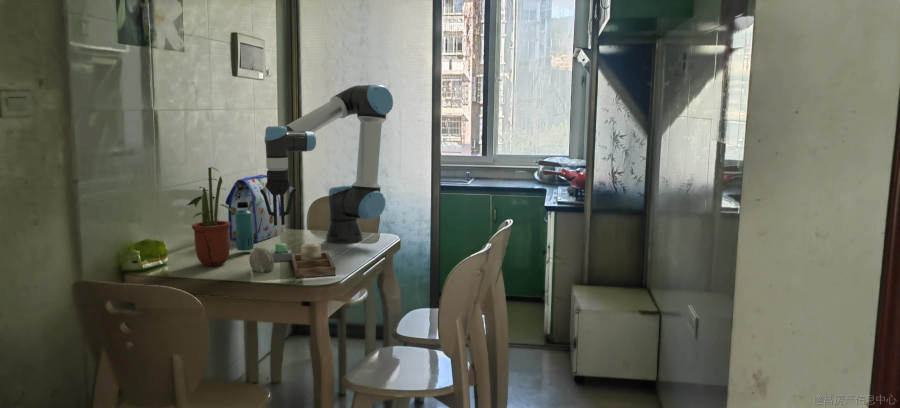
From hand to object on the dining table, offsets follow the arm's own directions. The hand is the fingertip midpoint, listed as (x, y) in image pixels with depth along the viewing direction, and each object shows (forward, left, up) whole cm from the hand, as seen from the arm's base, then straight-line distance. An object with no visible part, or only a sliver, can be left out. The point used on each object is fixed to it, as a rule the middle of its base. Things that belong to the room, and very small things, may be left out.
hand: (279, 234), depth 253 cm
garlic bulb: (+7, +16, -11) cm, 20 cm away
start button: (0, 0, -8) cm, 8 cm away
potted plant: (+23, 0, -10) cm, 25 cm away
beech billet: (-10, +10, -9) cm, 17 cm away
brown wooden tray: (-10, +16, -10) cm, 21 cm away
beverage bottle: (+13, -20, -10) cm, 26 cm away
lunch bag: (+9, -51, -11) cm, 53 cm away
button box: (0, 0, -10) cm, 10 cm away
